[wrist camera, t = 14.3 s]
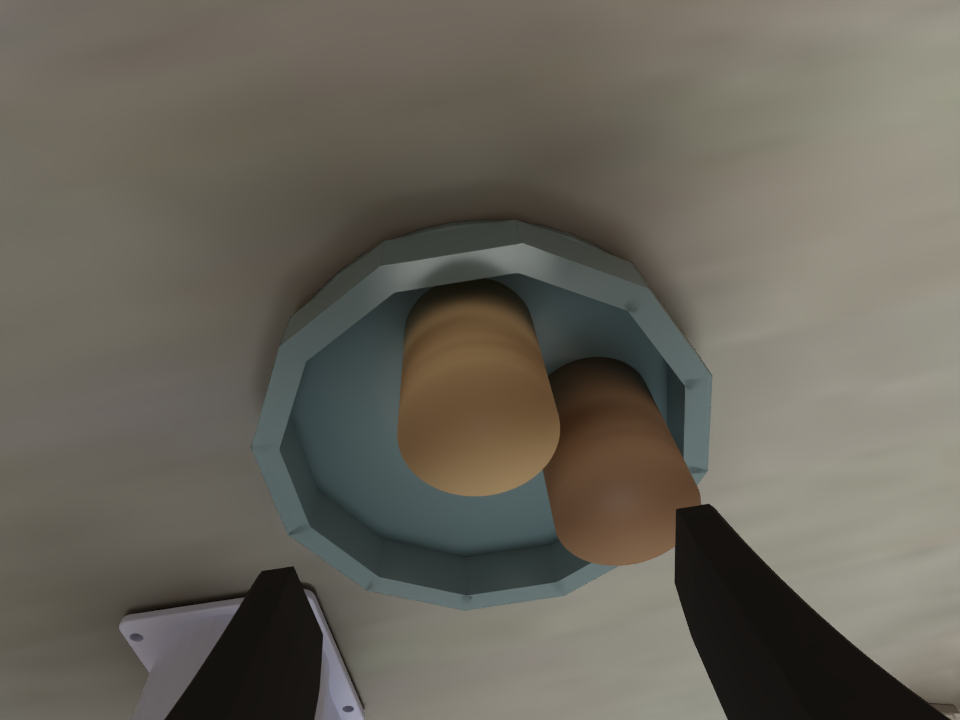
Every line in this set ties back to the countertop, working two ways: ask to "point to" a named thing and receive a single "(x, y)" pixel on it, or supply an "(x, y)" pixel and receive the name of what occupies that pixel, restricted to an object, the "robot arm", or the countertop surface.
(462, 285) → the oak bead
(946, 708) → the skyscraper
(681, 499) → the walnut bead
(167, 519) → the countertop surface
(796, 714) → the robot arm
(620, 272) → the ring dish
